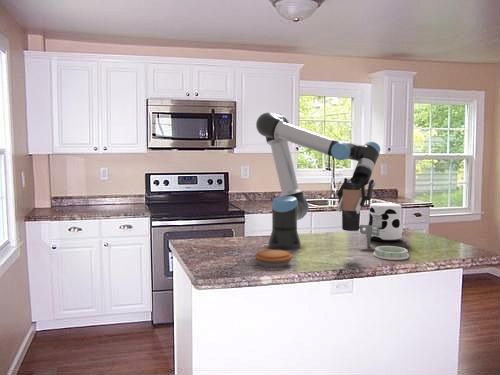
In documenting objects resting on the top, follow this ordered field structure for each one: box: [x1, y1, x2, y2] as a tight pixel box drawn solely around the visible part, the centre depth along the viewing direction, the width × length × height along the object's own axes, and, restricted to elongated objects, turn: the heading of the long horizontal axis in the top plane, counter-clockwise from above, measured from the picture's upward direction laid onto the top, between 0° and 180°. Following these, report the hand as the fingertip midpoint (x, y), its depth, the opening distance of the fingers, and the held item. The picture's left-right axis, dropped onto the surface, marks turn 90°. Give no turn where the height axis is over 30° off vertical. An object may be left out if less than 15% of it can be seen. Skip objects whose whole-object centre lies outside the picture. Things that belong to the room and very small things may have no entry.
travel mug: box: [341, 182, 362, 232], centre depth 199 cm, size 8×8×20 cm
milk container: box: [367, 202, 404, 242], centre depth 234 cm, size 17×17×18 cm
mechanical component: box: [359, 224, 381, 248], centre depth 220 cm, size 3×10×10 cm, turn 79°
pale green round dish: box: [372, 245, 410, 261], centre depth 202 cm, size 15×15×3 cm
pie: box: [254, 249, 294, 268], centre depth 189 cm, size 15×16×5 cm
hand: (347, 210), depth 197 cm, fingers closed on travel mug, 7 cm apart
